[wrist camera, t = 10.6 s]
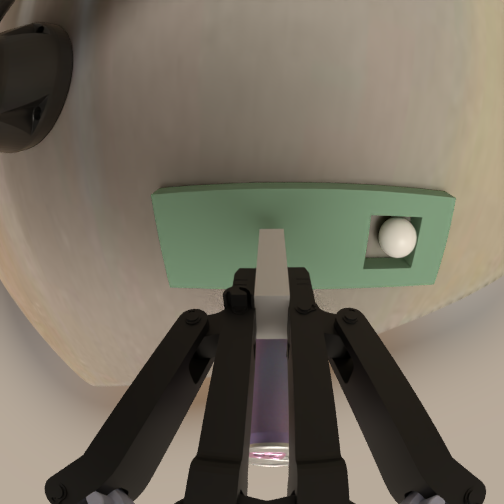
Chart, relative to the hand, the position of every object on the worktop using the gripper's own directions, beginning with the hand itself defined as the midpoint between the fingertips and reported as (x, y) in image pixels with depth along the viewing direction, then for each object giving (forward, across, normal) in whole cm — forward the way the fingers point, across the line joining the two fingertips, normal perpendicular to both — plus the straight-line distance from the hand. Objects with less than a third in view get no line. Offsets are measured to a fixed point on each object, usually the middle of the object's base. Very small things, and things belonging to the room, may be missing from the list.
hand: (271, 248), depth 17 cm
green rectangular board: (+6, +4, -2) cm, 7 cm away
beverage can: (+6, +1, -13) cm, 14 cm away
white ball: (+4, +11, -1) cm, 12 cm away
